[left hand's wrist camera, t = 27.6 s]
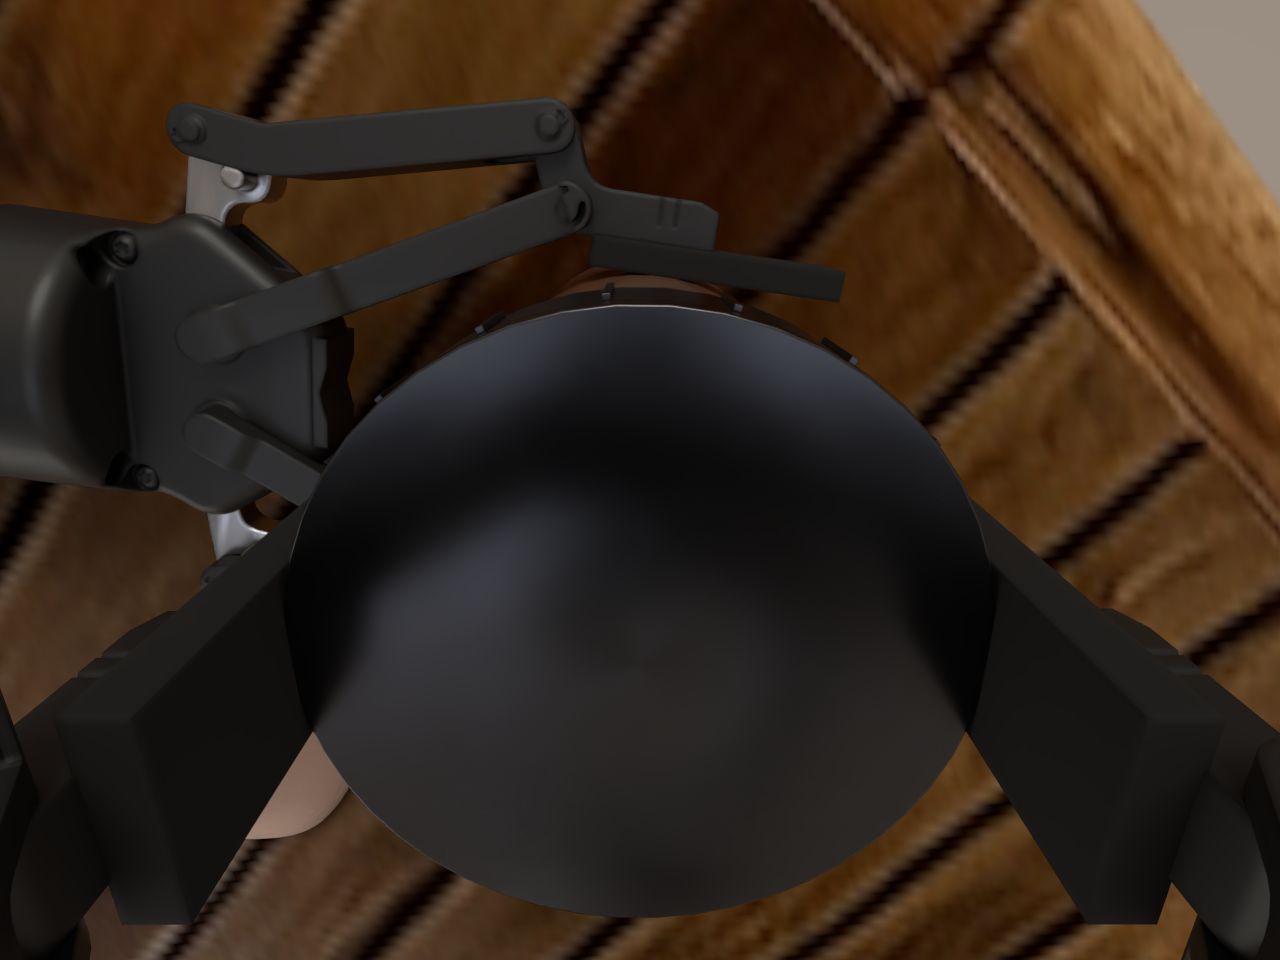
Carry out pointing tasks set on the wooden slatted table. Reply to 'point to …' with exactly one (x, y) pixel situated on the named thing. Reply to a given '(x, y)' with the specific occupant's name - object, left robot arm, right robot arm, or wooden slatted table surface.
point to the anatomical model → (301, 795)
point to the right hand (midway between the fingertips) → (792, 448)
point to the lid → (639, 605)
